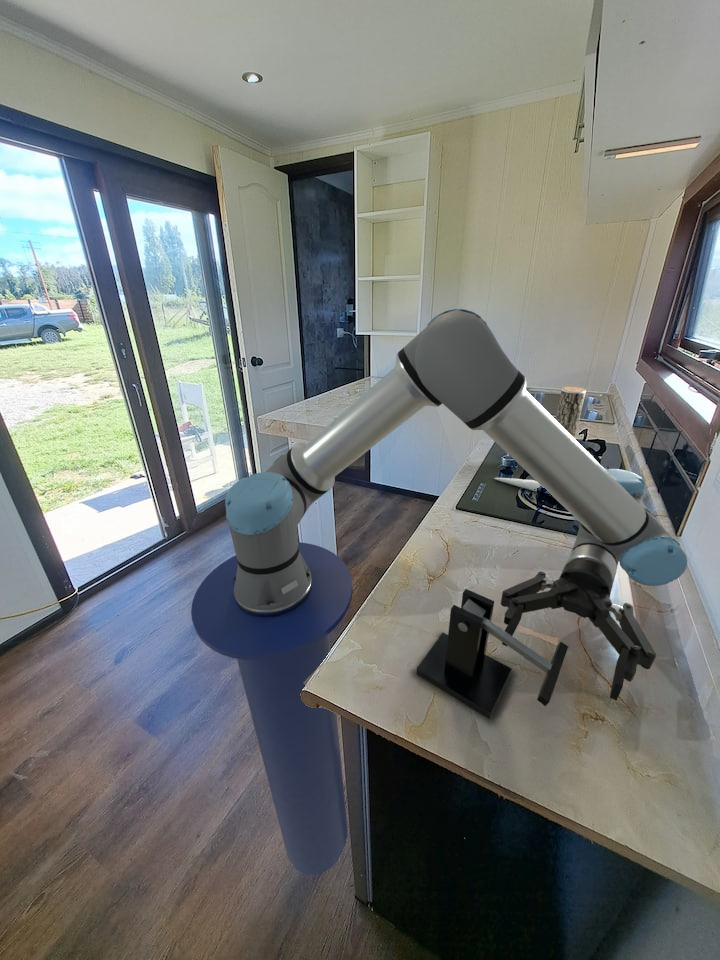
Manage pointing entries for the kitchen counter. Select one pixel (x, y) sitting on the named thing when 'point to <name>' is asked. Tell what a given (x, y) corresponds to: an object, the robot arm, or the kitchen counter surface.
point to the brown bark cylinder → (570, 408)
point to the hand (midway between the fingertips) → (556, 663)
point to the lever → (526, 652)
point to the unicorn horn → (521, 483)
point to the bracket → (466, 659)
